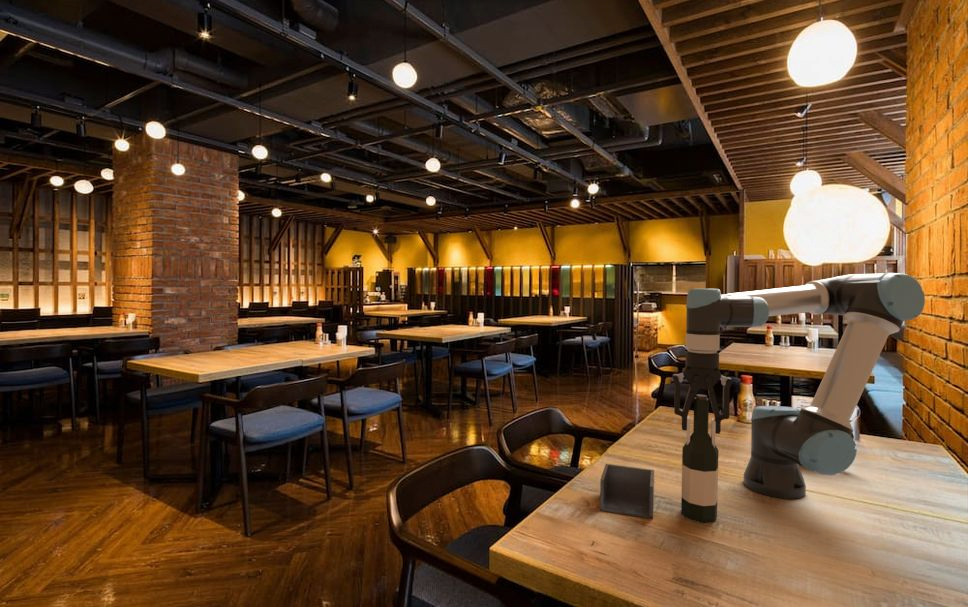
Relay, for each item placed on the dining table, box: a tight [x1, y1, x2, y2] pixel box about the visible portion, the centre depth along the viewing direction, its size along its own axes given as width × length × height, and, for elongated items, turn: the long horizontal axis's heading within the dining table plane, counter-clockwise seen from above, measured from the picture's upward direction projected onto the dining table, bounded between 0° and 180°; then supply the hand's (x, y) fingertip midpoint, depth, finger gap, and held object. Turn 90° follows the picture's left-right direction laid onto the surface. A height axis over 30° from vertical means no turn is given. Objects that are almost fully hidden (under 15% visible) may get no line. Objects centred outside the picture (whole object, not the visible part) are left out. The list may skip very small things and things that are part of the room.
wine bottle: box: [680, 394, 719, 524], centre depth 119 cm, size 8×8×30 cm
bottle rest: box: [599, 463, 655, 520], centre depth 125 cm, size 13×12×8 cm
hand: (700, 444), depth 119 cm, fingers open, 5 cm apart
